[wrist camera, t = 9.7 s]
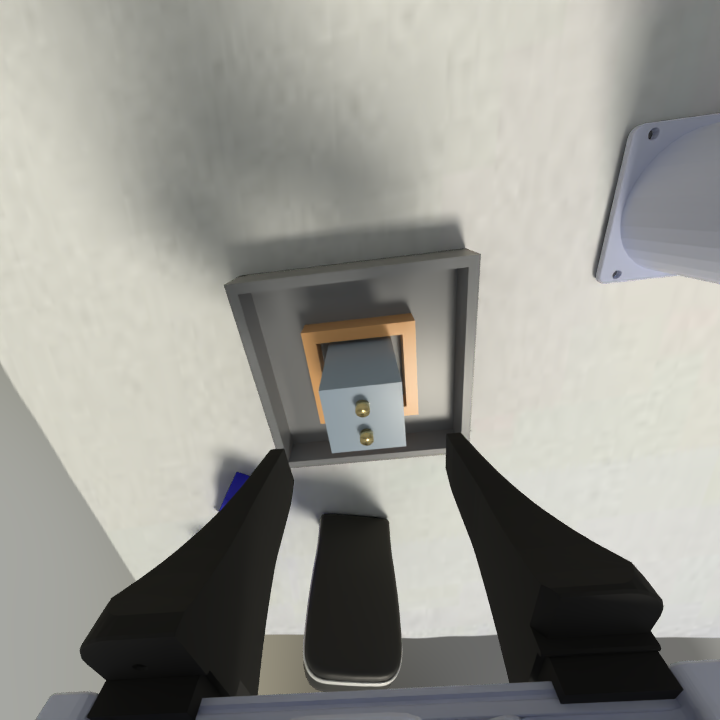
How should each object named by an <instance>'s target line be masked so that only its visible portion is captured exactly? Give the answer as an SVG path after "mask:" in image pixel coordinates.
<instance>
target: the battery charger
mask: <svg viewBox="0 0 720 720" xmlns="http://www.w3.org/2000/svg"><path fill="white" fill-rule="evenodd" d="M303 659H304V670H305V675H306V678H307V680H308V681H309V684H310V685H311V686H312V687H314V688H315V689H316V690H320V691H323V692H338V691H358V690H379V689H388V688H389V686H390V685H391V683H392V681H393V680H394V679H395V678H396V676H397V674H398V672H399V669H400V667H401V662H402V638H401V625H400V613H399V603H398V594H397V587H396V580H395V573H394V566H393V559H392V552H391V542H390V527H389V521H388V520H386V519H380V518H372V517H363V516H352V515H335V514H324V515H322V517H321V519H320V524H319V536H318V544H317V551H316V557H315V562H314V567H313V573H312V579H311V585H310V591H309V598H308V605H307V613H306V622H305V632H304V642H303Z"/></svg>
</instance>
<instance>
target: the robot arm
mask: <svg viewBox="0 0 720 720" xmlns="http://www.w3.org/2000/svg"><path fill="white" fill-rule="evenodd" d="M651 130H652V131H653V135H652V137H651V139H650V140H649V138H648V134H649V132H650V131H651ZM615 271H617V273H616V275H615V276H614V277H612V275H613V273H614V272H615ZM677 275H679V276H683V277H688V278H693V279H697V280H702V281H707V282H712V283H716V284H720V113H716V114H709V115H701V116H694V117H687V118H680V119H673V120H665V121H658V122H651V123H645V124H641V125H638V126H636V127H635V128H634V129H632V131H631V132H630V134H629V136H628V139H627V143H626V148H625V152H624V156H623V161H622V165H621V169H620V174H619V178H618V182H617V187H616V191H615V195H614V200H613V204H612V208H611V213H610V217H609V221H608V226H607V230H606V234H605V239H604V243H603V247H602V251H601V256H600V260H599V264H598V269H597V273H596V280H597V281H598V282H600V283H604V284H607V283H616V282H625V281H633V280H642V279H651V278H660V277H669V276H677ZM446 471H447V475H448V479H449V483H450V487H451V490H452V493H453V496H454V498H455V501H456V504H457V506H458V509H459V511H460V514H461V517H462V519H463V522H464V524H465V527H466V530H467V532H468V535H469V537H470V540H471V543H472V546H473V548H474V551H475V554H476V558H477V561H478V565H479V568H480V572H481V575H482V579H483V582H484V586H485V590H486V593H487V597H488V601H489V604H490V608H491V612H492V616H493V619H494V623H495V627H496V631H497V635H498V639H499V642H500V646H501V651H502V655H503V659H504V663H505V667H506V671H507V675H508V679H509V683H503V684H484V685H483V684H482V685H462V686H441V687H421V688H400V689H379V690H358V691H338V692H317V693H297V694H276V695H258V686H259V677H260V668H261V658H262V650H263V642H264V635H265V627H266V620H267V613H268V606H269V600H270V593H271V587H272V581H273V575H274V569H275V564H276V560H277V555H278V552H279V548H280V544H281V540H282V536H283V533H284V529H285V525H286V521H287V517H288V513H289V510H290V506H291V500H292V493H293V485H294V479H293V476H292V472H291V469H290V466H289V463H288V459H287V456H286V453H285V449H284V448H283V449H272V450H270V451H269V453H268V454H267V455H266V456H265V458H264V459H263V460H262V461H261V463H260V464H259V465H258V467H257V468H256V469H255V470H254V472H253V473H252V474H251V476H250V477H249V478H248V479H247V480H246V482H245V483H244V484H243V485H242V487H241V488H240V489H239V490H238V491H237V492H236V494H235V495H234V496H233V497H232V498H231V499H230V500H229V501H228V503H227V504H226V505H225V506H224V507H223V508H222V509H221V510H220V511H219V512H218V513H217V514H216V515H215V516H214V517H213V518H212V519H211V520H210V521H209V522H208V523H207V524H206V525H205V526H204V527H203V528H202V529H201V530H200V531H199V532H198V533H196V534H195V535H194V536H193V537H192V538H191V539H190V540H188V541H187V542H186V543H185V544H184V545H183V546H182V547H180V548H179V549H178V550H177V551H176V552H174V553H173V554H172V555H171V556H169V557H168V558H167V559H166V560H164V561H163V562H162V563H160V564H159V565H158V566H156V567H155V568H154V569H153V570H151V571H150V572H148V573H147V574H146V575H144V576H143V577H142V578H140V579H139V580H137V581H136V582H134V583H133V584H131V585H130V586H129V587H127V588H126V589H124V590H123V591H121V592H120V593H119V594H117V595H115V596H114V597H112V598H111V600H110V602H109V603H108V604H107V606H106V607H105V609H104V610H103V612H102V614H101V615H100V617H99V618H98V620H97V621H96V623H95V625H94V626H93V628H92V629H91V631H90V632H89V634H88V636H87V637H86V639H85V640H84V642H83V643H82V645H81V648H80V654H81V658H82V659H83V660H84V662H85V663H86V664H87V665H89V666H90V667H91V668H92V669H93V670H95V671H96V672H97V673H98V674H99V675H101V676H102V677H103V678H104V679H106V682H105V684H104V686H103V688H102V689H101V691H100V693H99V694H97V693H93V692H66V693H54V694H53V695H51V696H50V697H49V699H48V701H47V702H46V704H45V705H44V707H43V708H42V710H41V712H40V713H39V715H38V716H37V718H36V719H35V720H720V659H717V660H696V661H681V662H676V663H673V664H670V665H669V666H667V664H666V663H665V661H664V660H663V658H662V657H661V655H660V654H659V652H658V651H660V650H661V647H660V644H659V643H658V641H657V640H656V638H655V637H654V635H653V634H652V632H651V630H652V628H653V626H654V625H655V623H656V622H657V620H658V619H659V617H660V616H661V613H662V611H663V601H662V599H661V598H660V597H659V595H658V594H657V593H656V591H655V590H654V589H653V587H652V586H651V585H650V583H649V582H648V581H647V580H646V578H645V577H644V576H643V575H642V574H641V573H640V572H639V570H638V569H637V568H636V567H635V566H634V565H633V564H632V562H630V561H628V560H626V559H624V558H622V557H620V556H619V555H617V554H615V553H613V552H611V551H609V550H607V549H606V548H604V547H602V546H600V545H598V544H596V543H595V542H593V541H591V540H590V539H588V538H586V537H585V536H583V535H581V534H580V533H578V532H576V531H575V530H573V529H571V528H570V527H568V526H567V525H565V524H564V523H562V522H561V521H559V520H558V519H556V518H555V517H553V516H552V515H550V514H549V513H548V512H546V511H545V510H543V509H542V508H541V507H539V506H538V505H537V504H535V503H534V502H533V501H531V500H530V499H529V498H528V497H526V496H525V495H524V494H523V493H521V492H520V491H519V490H518V489H517V488H515V487H514V486H513V485H512V484H511V483H510V482H509V481H507V480H506V479H505V478H504V477H503V476H502V475H501V474H500V473H499V472H498V471H497V470H496V469H495V468H494V467H493V466H492V465H491V464H490V463H489V462H488V461H487V460H486V459H485V458H484V457H483V456H482V455H481V454H480V453H479V452H478V451H477V450H476V449H475V448H474V447H473V445H472V444H471V443H470V442H469V441H468V440H467V439H466V437H465V436H464V435H463V434H462V433H461V432H459V433H448V434H446Z"/></svg>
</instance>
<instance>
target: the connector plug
mask: <svg viewBox="0 0 720 720" xmlns="http://www.w3.org/2000/svg"><path fill="white" fill-rule="evenodd" d="M319 396H320V400H321V405H322V410H323V414H324V419H325V423H326V428H327V433H328V437H329V442H330V446H331V451H332V453H340V452H351V451H361V450H372V449H382V448H393V447H403V446H406V435H405V421H404V406H403V392H402V381H401V377H400V373H399V369H398V365H397V360H396V356H395V352H394V348H393V344H392V340H391V336H385V337H375V338H366V339H357V340H348V341H339V342H330V343H329V345H328V350H327V354H326V359H325V363H324V368H323V372H322V377H321V382H320V386H319Z"/></svg>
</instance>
